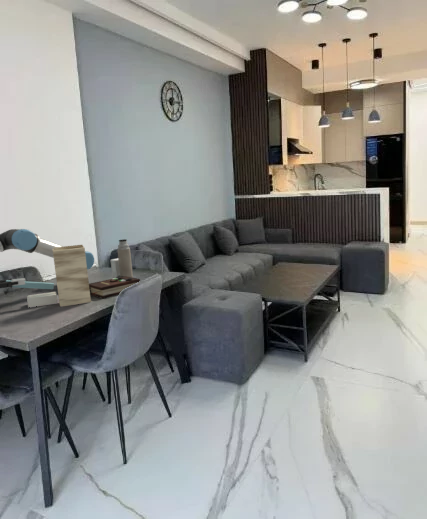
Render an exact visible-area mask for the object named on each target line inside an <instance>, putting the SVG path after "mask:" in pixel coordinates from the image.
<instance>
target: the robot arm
mask: <svg viewBox="0 0 427 519" xmlns="http://www.w3.org/2000/svg"><path fill="white" fill-rule="evenodd" d="M55 247H64V246H63V245H60V244H57V243H54V242H52V241H49V240H46V239H44V238H40V236H39V235H38V234H37V233H34V232H33V231H31V230H30V229H25V228H20V229H18V228H17V229H16V228H13V229H8V230H5V231H3V232H1V233H0V253H3V252H5V251H9V250H18V251H22V252H26V253H29V254H33V253H37V254H39V255H40V254H41V255H44V256H46V257H50V258H53V259H54V257H53V250H52V249H53V248H55ZM85 255H86V264H87V271H88V270H90V269H91V268H93V266H94V265H95V264H94V263H95V257H94V254H93V253H92V252H90V251H88V250H85ZM6 280H12V281H9V282H6ZM25 281H26V278H25V277H24V278H23V277H22V278H21V277H20V278H14V279H12V278H9V279H2V280H1V279H0V289H5V288H13V287H12V286H16V285H24V284H25Z"/></svg>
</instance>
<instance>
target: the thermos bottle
mask: <svg viewBox="0 0 427 519" xmlns="http://www.w3.org/2000/svg"><path fill="white" fill-rule="evenodd" d="M118 242H119V243H118V244H117V247H118V248H117V258H118V260H119V269H120V275H121V276H127V277H132V278H134V274H133V265H132V264H133V263H132V255H131V254H132V253H131V248H130V245H129V244H128V240H127V239H125V238H124V239H119V240H118Z"/></svg>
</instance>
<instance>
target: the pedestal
mask: <svg viewBox="0 0 427 519" xmlns="http://www.w3.org/2000/svg"><path fill="white" fill-rule="evenodd" d="M52 250H53V257H54V258H53V264H54V271H55V272H54V273H55V280H56V287H57V293H58V294H57V295H58V296H57V297H58V302H59V307H67V306H74V305H78V304H79V305H80V304H87V303H92V299H91V295H90V289H89V284H90V282H89V274H88V273H89V272H88V270H87V264H86V255H85V251H86V250H85V246H84V245H83V244H75V245H65V246H63V247H55V248H53V249H52Z"/></svg>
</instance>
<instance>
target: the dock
mask: <svg viewBox="0 0 427 519" xmlns="http://www.w3.org/2000/svg"><path fill="white" fill-rule="evenodd" d="M57 295H58V294H57V291H51V292H44V293H38V294H36V293H35V294H30V295H27V298H26V300H27V302H26V303H27V308H28V309H29V307H30V308H35V307H36V306H37V307H42V306H47V305H55V304H58V296H57ZM37 307H36V308H37Z"/></svg>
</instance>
